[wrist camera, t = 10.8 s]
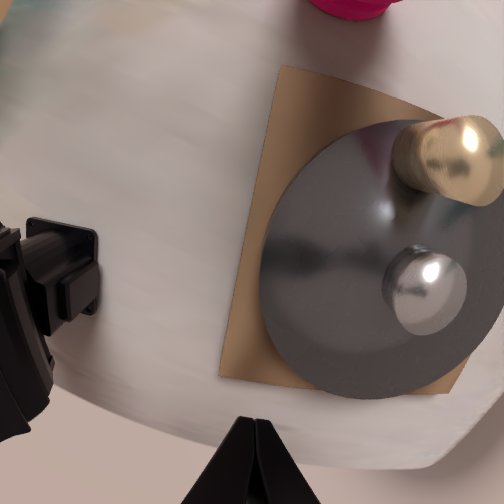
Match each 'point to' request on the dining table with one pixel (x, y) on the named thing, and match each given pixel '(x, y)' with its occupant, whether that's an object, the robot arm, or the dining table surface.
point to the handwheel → (387, 256)
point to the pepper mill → (354, 8)
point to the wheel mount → (270, 190)
